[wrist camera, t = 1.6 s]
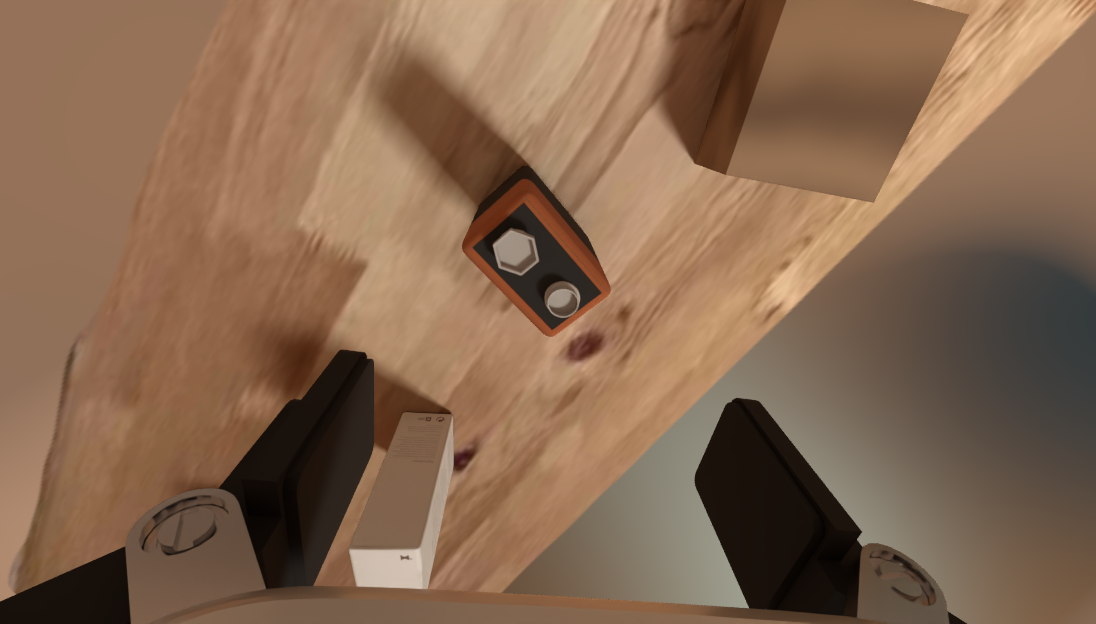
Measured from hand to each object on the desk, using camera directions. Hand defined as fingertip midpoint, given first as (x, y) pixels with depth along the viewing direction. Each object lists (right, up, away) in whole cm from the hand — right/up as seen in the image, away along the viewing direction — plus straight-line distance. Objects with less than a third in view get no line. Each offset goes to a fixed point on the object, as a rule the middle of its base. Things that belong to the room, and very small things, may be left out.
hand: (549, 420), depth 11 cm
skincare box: (-10, -8, +25) cm, 29 cm away
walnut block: (+15, +16, +15) cm, 26 cm away
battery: (-1, +9, +18) cm, 20 cm away
